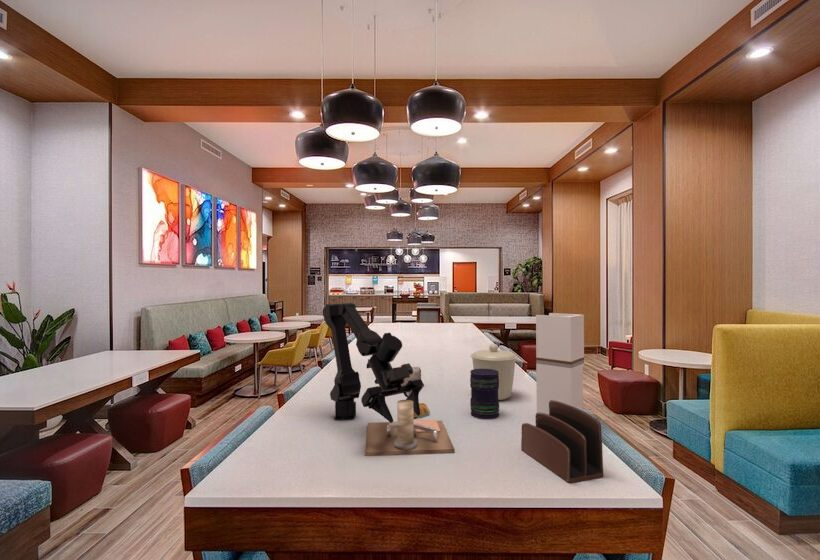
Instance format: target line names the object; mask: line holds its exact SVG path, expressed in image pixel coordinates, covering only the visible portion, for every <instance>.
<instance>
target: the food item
mask: <svg viewBox="0 0 820 560" xmlns="http://www.w3.org/2000/svg"><path fill="white" fill-rule="evenodd" d="M404 364H406V363H403V364H401V365H400V367H402V365H404ZM411 367H412V369H413V374H411V375H410V377H409V378H408V377H407V378H405V379H404V383H403V384H401V386H406V384H407V383H408V381H409V380H414V379H421V380H422V369H421V367H419V366H411Z"/></svg>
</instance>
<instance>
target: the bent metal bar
mask: <svg viewBox="0 0 820 560" xmlns="http://www.w3.org/2000/svg"><path fill="white" fill-rule="evenodd" d="M391 428H398V423H390V424H389V425H387V437H391ZM416 429H420V430H423V431H427V432H431V433H433V442H434V443H436V442H437V431H436V429H435V428H431V427H427V426H423V425H420V424H416V423H415V424H414V423H413V432H414V437H415V436H416Z"/></svg>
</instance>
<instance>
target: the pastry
mask: <svg viewBox="0 0 820 560" xmlns="http://www.w3.org/2000/svg"><path fill="white" fill-rule="evenodd" d="M419 407H420V415H419V416H417V415H416V413H415V412H414V411H413V419H416V418H415V417H420V418H423V417H422V416H425V417H427V416H426V415H428V416H429V415H430V414H431V412H430V409H429V407H428V405H427V404H426V403H423V402H419Z"/></svg>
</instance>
